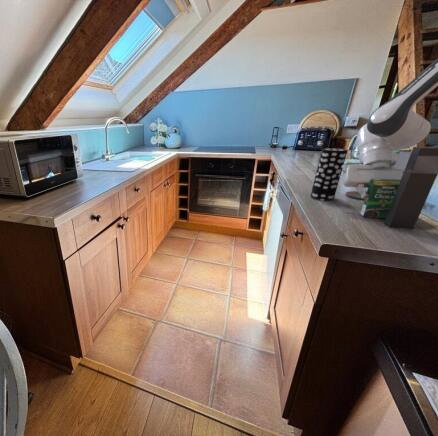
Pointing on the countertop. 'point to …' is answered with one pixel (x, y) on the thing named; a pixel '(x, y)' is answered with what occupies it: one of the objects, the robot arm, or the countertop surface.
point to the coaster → (354, 195)
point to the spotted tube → (328, 174)
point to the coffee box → (379, 198)
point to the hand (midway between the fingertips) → (382, 198)
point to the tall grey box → (412, 186)
